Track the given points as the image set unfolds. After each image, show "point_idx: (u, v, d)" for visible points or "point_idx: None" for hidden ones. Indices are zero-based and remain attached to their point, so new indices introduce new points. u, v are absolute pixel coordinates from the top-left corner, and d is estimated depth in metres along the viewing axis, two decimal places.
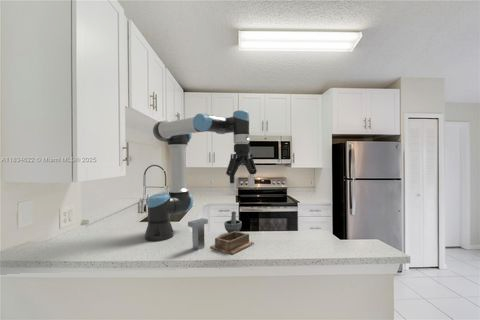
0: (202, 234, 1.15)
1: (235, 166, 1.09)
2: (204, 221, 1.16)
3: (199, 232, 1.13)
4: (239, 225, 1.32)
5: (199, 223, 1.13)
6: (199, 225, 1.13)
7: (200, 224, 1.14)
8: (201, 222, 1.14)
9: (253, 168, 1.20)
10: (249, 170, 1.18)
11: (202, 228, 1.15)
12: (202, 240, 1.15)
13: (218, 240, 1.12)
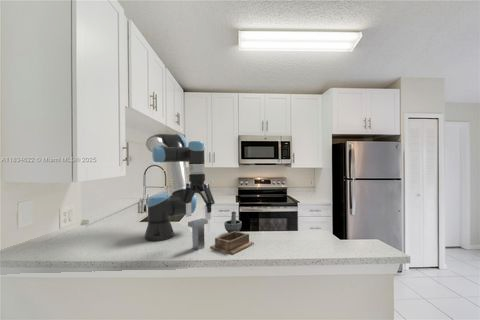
0: (202, 234, 1.15)
1: None
2: (204, 221, 1.16)
3: (199, 232, 1.13)
4: (239, 225, 1.32)
5: (199, 223, 1.13)
6: (199, 225, 1.13)
7: (200, 224, 1.14)
8: (201, 222, 1.14)
9: None
10: None
11: (202, 228, 1.15)
12: (202, 240, 1.15)
13: (218, 240, 1.12)
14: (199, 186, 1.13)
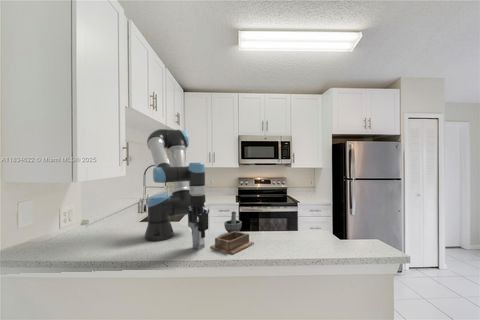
0: None
1: None
2: None
3: None
4: (239, 225, 1.32)
5: None
6: None
7: None
8: None
9: None
10: None
11: None
12: None
13: (218, 240, 1.12)
14: (199, 207, 1.13)
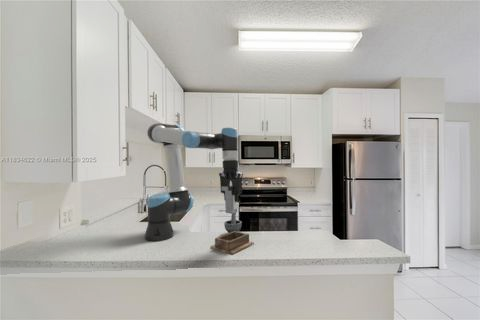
0: None
1: None
2: None
3: (232, 196, 1.14)
4: (239, 225, 1.32)
5: (232, 187, 1.14)
6: (232, 189, 1.14)
7: None
8: None
9: None
10: None
11: None
12: None
13: (218, 240, 1.12)
14: (233, 172, 1.14)
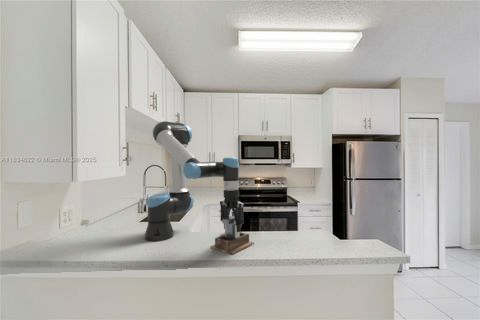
0: None
1: None
2: None
3: (233, 229, 1.14)
4: None
5: (233, 220, 1.14)
6: (233, 222, 1.14)
7: (234, 221, 1.15)
8: None
9: None
10: None
11: None
12: None
13: (218, 240, 1.12)
14: (234, 202, 1.14)
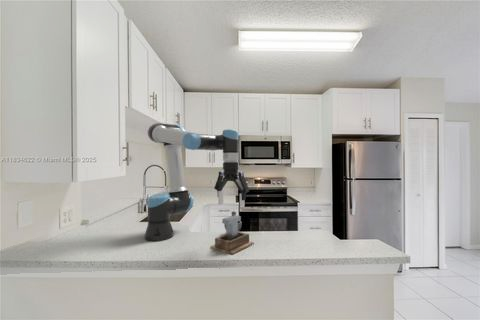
0: (236, 231, 1.16)
1: None
2: (237, 218, 1.17)
3: (233, 229, 1.14)
4: (239, 225, 1.32)
5: (233, 220, 1.14)
6: (233, 222, 1.14)
7: (234, 221, 1.15)
8: (235, 219, 1.15)
9: (243, 187, 1.11)
10: None
11: (236, 225, 1.16)
12: (236, 237, 1.16)
13: (218, 240, 1.12)
14: (233, 174, 1.14)
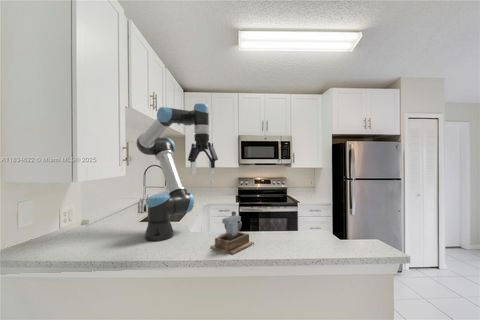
0: (236, 231, 1.16)
1: None
2: (237, 218, 1.17)
3: (233, 229, 1.14)
4: (239, 225, 1.32)
5: (233, 220, 1.14)
6: (233, 222, 1.14)
7: (234, 221, 1.15)
8: (235, 219, 1.15)
9: (212, 156, 1.20)
10: None
11: (236, 225, 1.16)
12: (236, 237, 1.16)
13: (218, 240, 1.12)
14: (204, 144, 1.23)
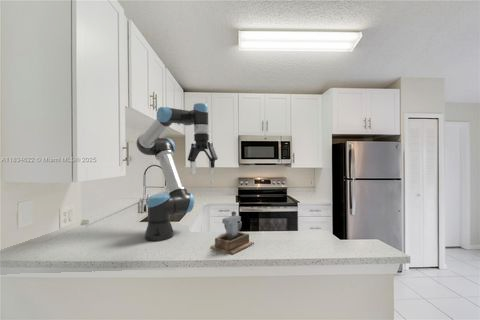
0: (236, 231, 1.16)
1: None
2: (237, 218, 1.17)
3: (233, 229, 1.14)
4: (239, 225, 1.32)
5: (233, 220, 1.14)
6: (233, 222, 1.14)
7: (234, 221, 1.15)
8: (235, 219, 1.15)
9: (212, 155, 1.21)
10: None
11: (236, 225, 1.16)
12: (236, 237, 1.16)
13: (218, 240, 1.12)
14: (203, 144, 1.24)
